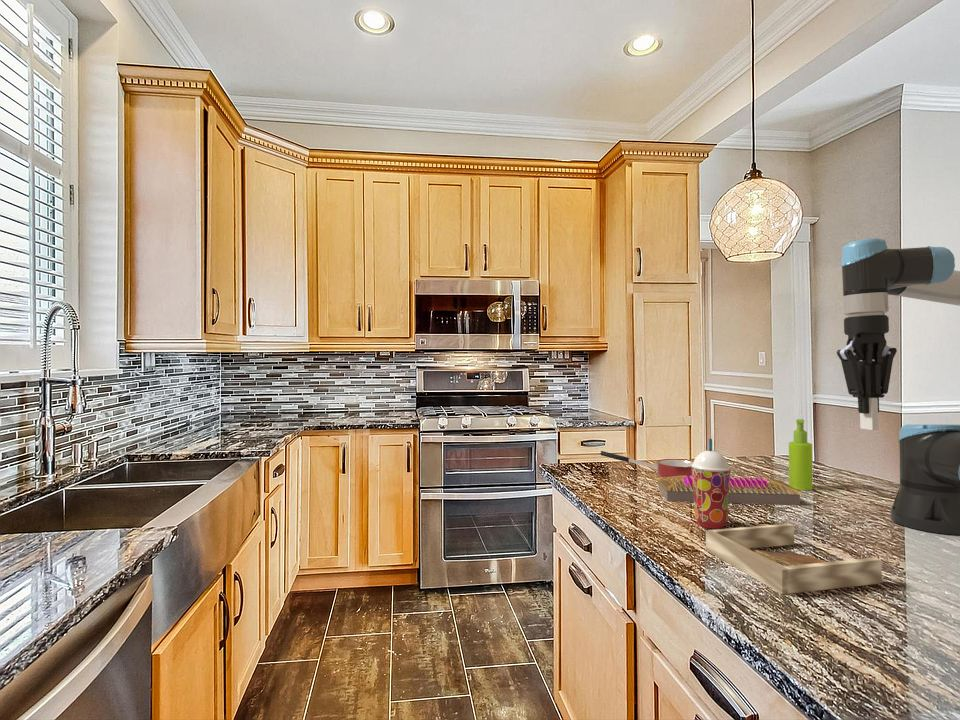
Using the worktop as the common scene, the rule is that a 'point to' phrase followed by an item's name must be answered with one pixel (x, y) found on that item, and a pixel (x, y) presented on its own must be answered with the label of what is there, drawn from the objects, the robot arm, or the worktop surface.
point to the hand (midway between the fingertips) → (869, 428)
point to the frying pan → (661, 465)
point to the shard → (788, 558)
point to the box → (787, 579)
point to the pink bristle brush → (734, 490)
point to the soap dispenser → (800, 459)
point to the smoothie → (711, 488)
